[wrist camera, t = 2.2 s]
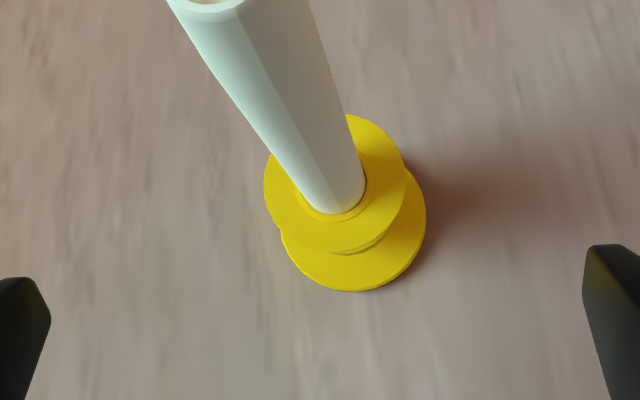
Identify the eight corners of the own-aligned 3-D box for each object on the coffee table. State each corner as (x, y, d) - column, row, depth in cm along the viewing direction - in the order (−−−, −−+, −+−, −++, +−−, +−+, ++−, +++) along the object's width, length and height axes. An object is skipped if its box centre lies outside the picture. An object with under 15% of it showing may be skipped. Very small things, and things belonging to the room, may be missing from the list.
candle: (386, 318, 19) (307, 273, 4) (256, 252, 21) (-152, 38, 6) (450, 185, 20) (572, -248, 5) (322, 128, 21) (112, -354, 6)
